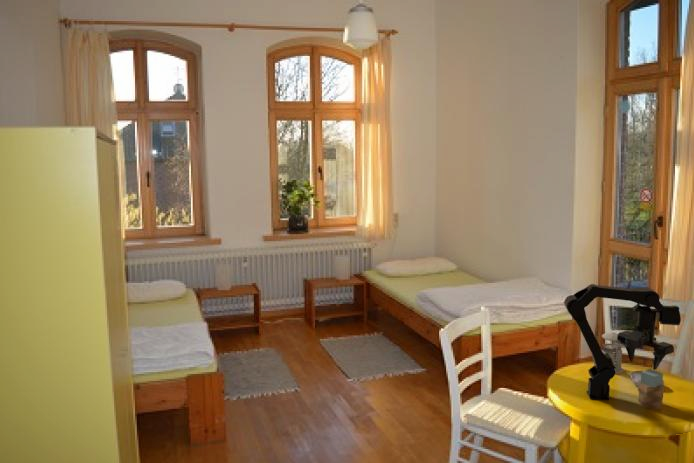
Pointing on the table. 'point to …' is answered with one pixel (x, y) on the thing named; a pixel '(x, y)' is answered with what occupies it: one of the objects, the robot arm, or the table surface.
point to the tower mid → (650, 390)
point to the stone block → (638, 377)
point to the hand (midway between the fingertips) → (642, 365)
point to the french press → (613, 349)
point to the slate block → (651, 378)
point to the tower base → (650, 402)
